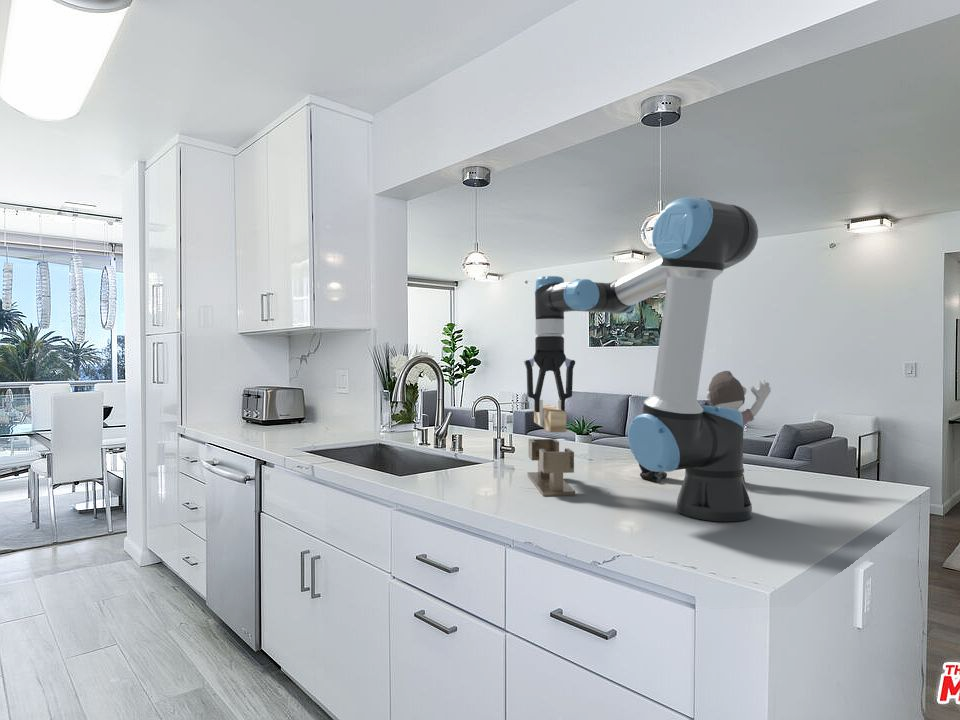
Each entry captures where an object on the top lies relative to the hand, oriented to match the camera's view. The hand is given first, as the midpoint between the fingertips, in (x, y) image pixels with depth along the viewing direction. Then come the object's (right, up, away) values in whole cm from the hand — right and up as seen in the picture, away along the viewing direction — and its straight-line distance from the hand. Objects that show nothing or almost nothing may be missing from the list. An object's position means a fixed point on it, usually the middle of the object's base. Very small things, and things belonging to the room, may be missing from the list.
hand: (549, 424), depth 160 cm
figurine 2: (+50, -16, +3) cm, 53 cm away
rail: (0, -1, 0) cm, 1 cm away
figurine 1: (+30, -16, +7) cm, 34 cm away
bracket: (0, -16, 0) cm, 16 cm away
